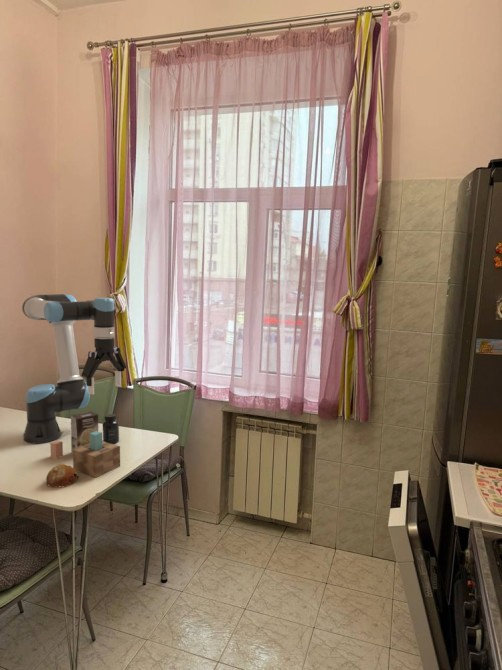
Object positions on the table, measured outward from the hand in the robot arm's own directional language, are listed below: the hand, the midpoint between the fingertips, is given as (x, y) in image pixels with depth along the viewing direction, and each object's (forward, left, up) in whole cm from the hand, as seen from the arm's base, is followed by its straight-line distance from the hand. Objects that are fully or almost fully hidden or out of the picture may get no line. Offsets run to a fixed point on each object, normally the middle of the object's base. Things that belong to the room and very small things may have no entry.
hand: (105, 390), depth 180 cm
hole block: (+6, -10, -28) cm, 30 cm away
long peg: (+6, -10, -28) cm, 30 cm away
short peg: (-16, -11, -28) cm, 34 cm away
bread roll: (+4, -24, -28) cm, 37 cm away
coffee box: (-10, -2, -28) cm, 30 cm away
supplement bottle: (-10, +12, -28) cm, 32 cm away
